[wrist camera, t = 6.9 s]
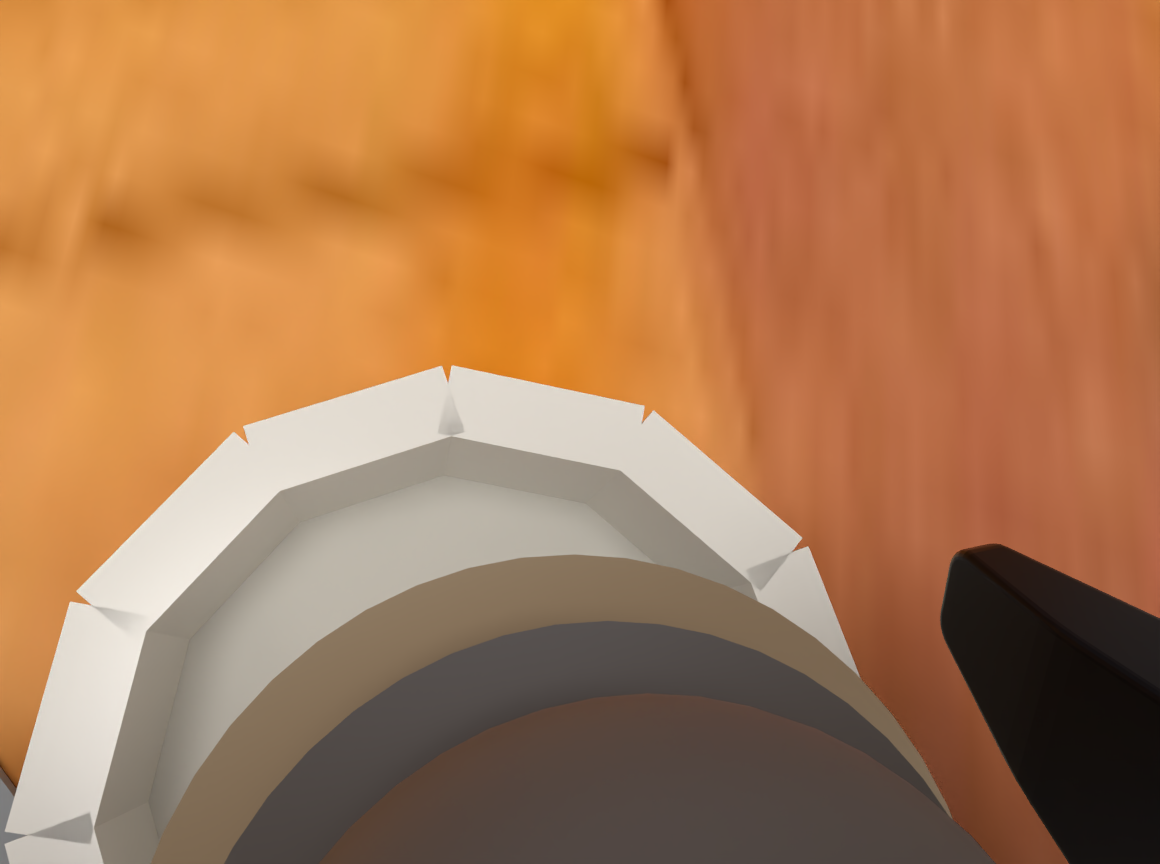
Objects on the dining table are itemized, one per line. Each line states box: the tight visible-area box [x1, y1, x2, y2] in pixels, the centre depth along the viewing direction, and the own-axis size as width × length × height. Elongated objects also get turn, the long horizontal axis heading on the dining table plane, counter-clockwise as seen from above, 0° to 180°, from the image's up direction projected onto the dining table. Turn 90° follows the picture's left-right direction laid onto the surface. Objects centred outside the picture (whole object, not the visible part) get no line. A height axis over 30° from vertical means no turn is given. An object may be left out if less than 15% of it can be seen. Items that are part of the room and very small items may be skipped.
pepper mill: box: [151, 554, 996, 864], centre depth 10 cm, size 4×4×15 cm
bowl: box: [5, 365, 861, 864], centre depth 16 cm, size 11×11×4 cm
